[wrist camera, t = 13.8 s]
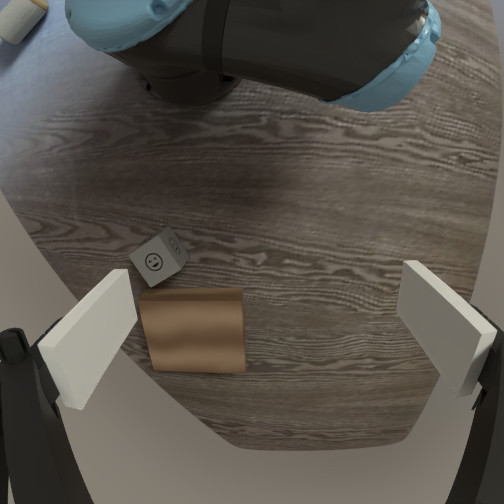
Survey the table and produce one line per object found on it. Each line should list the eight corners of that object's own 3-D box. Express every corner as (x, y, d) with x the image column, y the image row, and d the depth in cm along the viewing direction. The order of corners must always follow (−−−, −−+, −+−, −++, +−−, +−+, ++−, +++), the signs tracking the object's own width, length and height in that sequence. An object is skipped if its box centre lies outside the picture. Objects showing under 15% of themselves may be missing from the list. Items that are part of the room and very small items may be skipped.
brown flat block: (146, 288, 44) (137, 300, 40) (242, 287, 43) (241, 300, 40) (160, 354, 48) (153, 369, 44) (246, 356, 47) (245, 372, 43)
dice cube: (161, 272, 43) (141, 243, 42) (189, 255, 42) (169, 225, 41) (150, 287, 38) (127, 255, 37) (181, 269, 37) (158, 235, 36)
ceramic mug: (57, 11, 30) (30, -3, 22) (24, 49, 31) (-5, 40, 24) (37, -13, 27) (13, -26, 20) (7, 22, 29) (-19, 13, 22)
